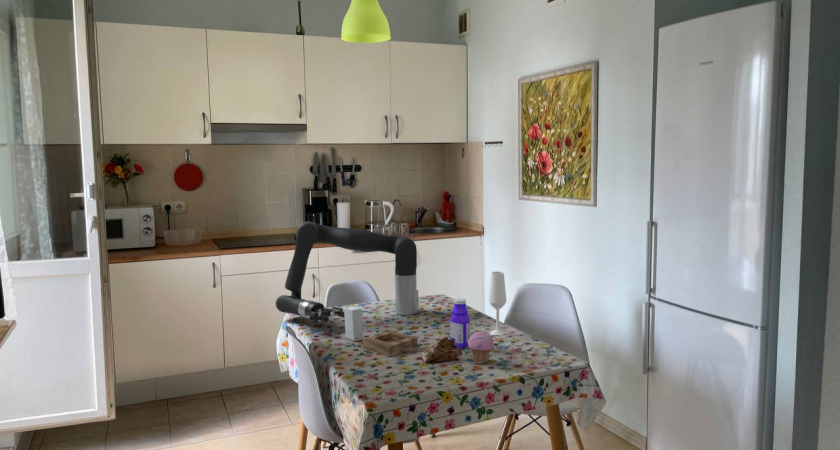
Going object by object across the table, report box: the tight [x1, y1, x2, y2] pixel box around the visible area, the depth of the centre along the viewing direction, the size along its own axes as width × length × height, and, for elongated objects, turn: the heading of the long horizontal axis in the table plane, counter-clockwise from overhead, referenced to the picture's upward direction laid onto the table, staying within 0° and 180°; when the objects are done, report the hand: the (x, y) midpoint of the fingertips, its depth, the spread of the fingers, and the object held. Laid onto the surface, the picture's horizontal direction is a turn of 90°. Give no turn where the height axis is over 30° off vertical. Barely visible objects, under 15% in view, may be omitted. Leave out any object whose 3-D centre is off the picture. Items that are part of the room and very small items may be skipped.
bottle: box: [449, 297, 471, 349], centre depth 231 cm, size 7×6×17 cm
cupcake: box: [468, 331, 495, 364], centre depth 215 cm, size 9×9×10 cm
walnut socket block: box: [362, 330, 418, 357], centre depth 232 cm, size 14×14×4 cm
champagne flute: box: [488, 270, 507, 336], centre depth 245 cm, size 7×7×24 cm
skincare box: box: [343, 305, 364, 342], centre depth 242 cm, size 6×4×12 cm
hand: (336, 317), depth 249 cm, fingers open, 8 cm apart
